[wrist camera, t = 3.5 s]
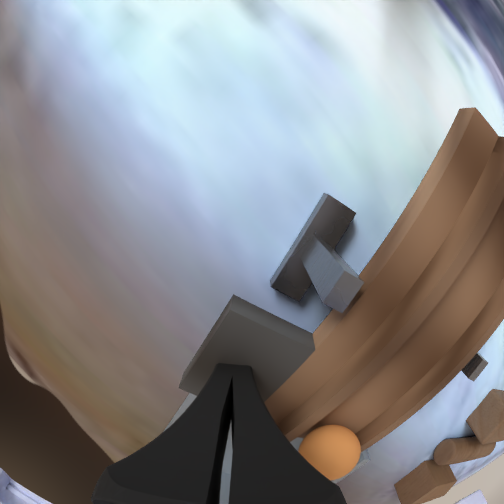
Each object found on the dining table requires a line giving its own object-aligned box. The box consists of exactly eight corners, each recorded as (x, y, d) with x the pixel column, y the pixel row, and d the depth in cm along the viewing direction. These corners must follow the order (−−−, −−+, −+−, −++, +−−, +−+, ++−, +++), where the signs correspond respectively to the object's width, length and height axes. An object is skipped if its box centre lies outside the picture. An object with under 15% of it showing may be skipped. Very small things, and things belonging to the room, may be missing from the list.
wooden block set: (513, 418, 12) (548, 414, 14) (486, 385, 18) (529, 393, 20) (398, 516, 17) (469, 493, 19) (387, 482, 22) (457, 471, 24)
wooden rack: (387, 45, 7) (428, 15, 4) (540, 224, 8) (578, 245, 5) (180, 378, 12) (163, 427, 9) (359, 437, 14) (367, 476, 11)
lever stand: (324, 193, 13) (368, 208, 8) (459, 293, 14) (511, 334, 9) (269, 280, 14) (278, 343, 9) (414, 355, 16) (453, 408, 10)
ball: (374, 475, 8) (330, 486, 10) (372, 421, 11) (332, 439, 13) (324, 471, 8) (281, 480, 10) (327, 409, 11) (288, 428, 12)
